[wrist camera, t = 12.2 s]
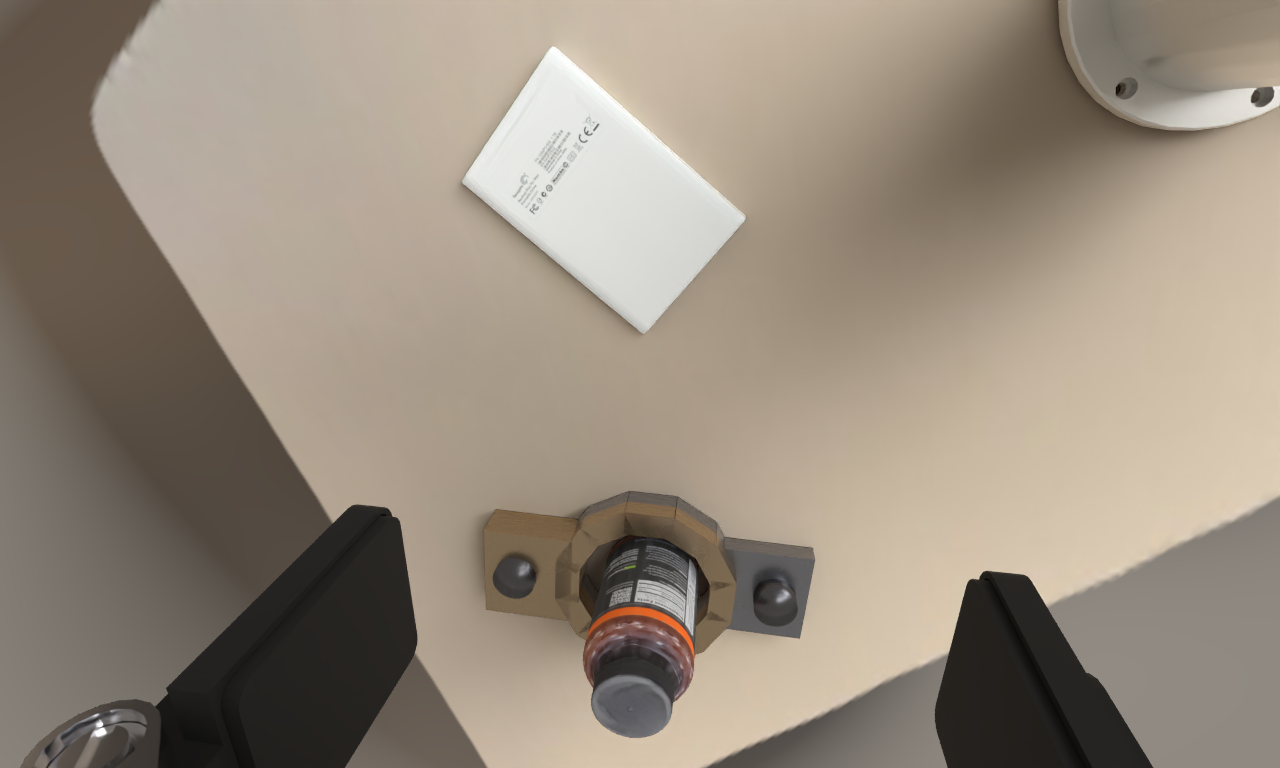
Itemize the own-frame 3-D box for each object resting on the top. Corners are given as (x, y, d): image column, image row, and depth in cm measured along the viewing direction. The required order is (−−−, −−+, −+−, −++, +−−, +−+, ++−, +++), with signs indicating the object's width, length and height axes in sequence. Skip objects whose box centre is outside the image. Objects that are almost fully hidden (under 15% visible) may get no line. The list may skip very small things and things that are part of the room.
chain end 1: (743, 504, 40) (745, 532, 37) (724, 645, 44) (724, 680, 41) (495, 475, 41) (478, 500, 38) (498, 614, 45) (483, 646, 42)
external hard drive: (646, 328, 37) (469, 180, 35) (746, 214, 34) (559, 47, 32) (643, 336, 36) (458, 183, 34) (747, 218, 33) (551, 44, 31)
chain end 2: (819, 513, 39) (824, 536, 37) (792, 654, 43) (795, 683, 41) (565, 483, 41) (556, 504, 38) (562, 623, 45) (554, 649, 43)
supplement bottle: (661, 618, 44) (641, 773, 33) (589, 569, 43) (545, 711, 32) (718, 562, 41) (716, 709, 31) (643, 509, 41) (615, 641, 30)
